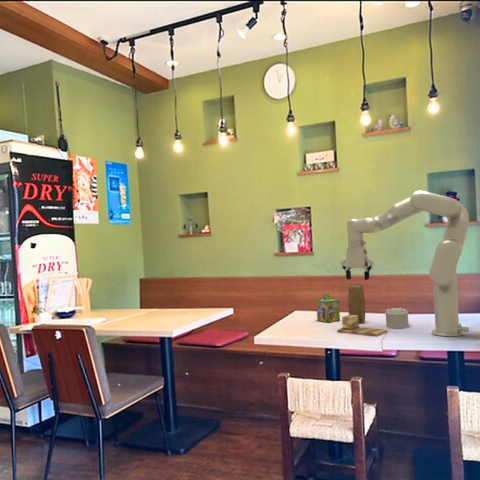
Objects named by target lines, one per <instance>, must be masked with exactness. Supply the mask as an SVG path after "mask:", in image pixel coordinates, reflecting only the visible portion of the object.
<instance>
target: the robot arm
mask: <svg viewBox="0 0 480 480" xmlns="http://www.w3.org/2000/svg"><path fill="white" fill-rule="evenodd" d="M422 212H427V213H430V214H433V215H436V216H440V217H444V218H446V219H447V223H446V226H445V231H444V234H443V238H442V240H441V241H440V242H439V243H438V244H437V246H436V248H435V252H434V256H433V258H432V263H431V265H430V268H429V269H430V270H429V277H430V280H431V282H432V283H433V305H434V309H433V310H434V323H435V324H434V325H435V328H434V329H432V330H431V334H433V335H435V336H440V337H460V336H463V335H464V332H466V333H469V332H470V327H468V326H462V323H461V322H459V321H460V320H459V318H460V317H459V302H458V274H457V273H458V272H457V266H458V263H459V260H460V257H461V256H462V253H463V250H464V249H463V248H464V245H465V241H466V238H467V237H466V236H467V233H468V230H469V224H470V223H469V222H470V218H469V217H470V216H469V212H468V210H467V209H466V207H465V206H464V205H463V204H462V203H461V202H459V200H457V199H455V198H453V197H451V196H450V197H449V196H446V195H441V194H438V193H433V192H430V191H426V190H422V189H419V190H416V191H413V193H411V195H410V196H408V197H406V198H404V199H402V200H400V201H398V202H396V203H394V204H392V205H391V207H390V208H389V209H388V210H386V211H384V212H383V213H381V214H378V215H376V216H374V217H364V218H350V219H348V220H346V234H347V248H346V251H345V260H342V261H341V262H340V265H341V266H342V269H343V270H344V272H345V278H346V280H351V279H352V272H351V269H352V268H353V269H354V268H358V269H359V268H360V269H361V268H363V270H364V273H363V274H364V276H363V277H364V281H367V280H370V272H371V270H372V269H373V266H374V264H375V262H374V261H372V260H371V259H369V255H368V251H367V248H366V246H365V245H366V244H367V241H365V240H364V234H377V233H379V232H381V231H384V230H386V229H388V228H391V227H392V226H394V225H396V224H399V223H400V222H402V221H404V220H407V219H409V218H411V217H413V216H415V215H417V214H420V213H422Z"/></svg>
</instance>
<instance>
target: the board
mask: <svg viewBox="0 0 480 480" xmlns="http://www.w3.org/2000/svg"><path fill="white" fill-rule="evenodd" d="M342 328H343V327H341V328H337V330H336V333H340V334H341V333H342V334H350V335H361V336H367V337H378V336H381V335H384V334H386V333H388V329H384V328H375V327H373V328H372V327H366V326H365V327H364V326H359V328H357V329H354V330H343V329H342Z"/></svg>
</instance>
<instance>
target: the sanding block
mask: <svg viewBox="0 0 480 480" xmlns="http://www.w3.org/2000/svg"><path fill="white" fill-rule="evenodd" d="M341 322H342V324H341V325H342V326H341V328H342V329H343V330H354V329H357V328H359V327H360V326H359V324H358V315H349V314H347V315H344V316H342V317H341Z"/></svg>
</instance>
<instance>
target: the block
mask: <svg viewBox="0 0 480 480" xmlns="http://www.w3.org/2000/svg"><path fill="white" fill-rule="evenodd" d="M363 286H364V285H363V284H361V283H359V284H354V283H353V284H350V285H349V286H348V287H347V289H348V294H347V300H348V301H347V302H348V303H347V305H348V315H358V325H360V324H364V323H365V320H366V298H365V291H364V287H363Z"/></svg>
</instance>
